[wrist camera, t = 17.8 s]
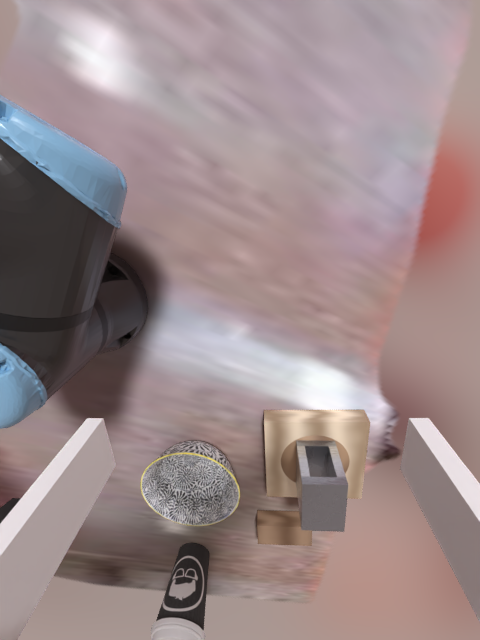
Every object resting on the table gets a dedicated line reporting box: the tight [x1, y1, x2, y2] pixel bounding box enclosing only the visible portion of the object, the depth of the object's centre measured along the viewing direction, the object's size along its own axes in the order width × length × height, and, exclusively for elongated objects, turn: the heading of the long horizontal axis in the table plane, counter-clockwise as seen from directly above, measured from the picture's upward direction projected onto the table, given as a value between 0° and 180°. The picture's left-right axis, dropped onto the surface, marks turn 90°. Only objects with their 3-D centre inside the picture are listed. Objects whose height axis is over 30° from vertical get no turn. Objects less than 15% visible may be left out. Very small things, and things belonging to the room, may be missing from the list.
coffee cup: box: [151, 543, 209, 640], centre depth 57 cm, size 10×10×15 cm
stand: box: [257, 510, 312, 546], centre depth 57 cm, size 10×5×3 cm, turn 93°
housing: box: [296, 440, 348, 532], centre depth 45 cm, size 9×6×8 cm, turn 3°
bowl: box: [140, 441, 240, 526], centre depth 51 cm, size 16×16×8 cm
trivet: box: [264, 410, 370, 499], centre depth 50 cm, size 16×16×3 cm
